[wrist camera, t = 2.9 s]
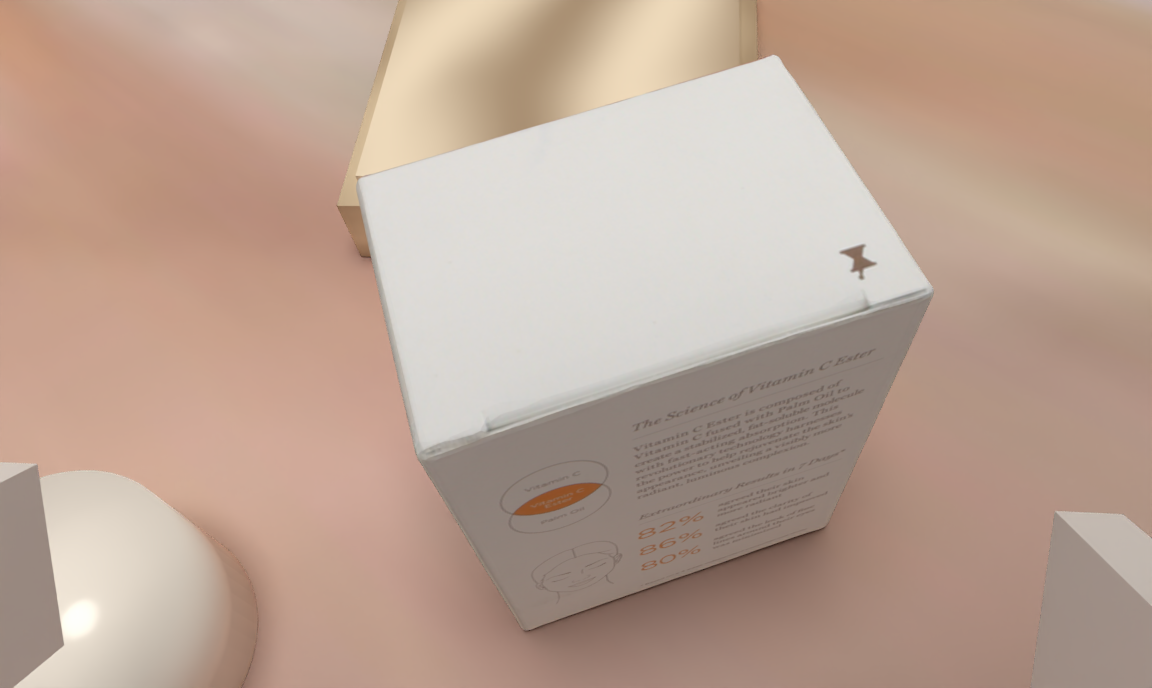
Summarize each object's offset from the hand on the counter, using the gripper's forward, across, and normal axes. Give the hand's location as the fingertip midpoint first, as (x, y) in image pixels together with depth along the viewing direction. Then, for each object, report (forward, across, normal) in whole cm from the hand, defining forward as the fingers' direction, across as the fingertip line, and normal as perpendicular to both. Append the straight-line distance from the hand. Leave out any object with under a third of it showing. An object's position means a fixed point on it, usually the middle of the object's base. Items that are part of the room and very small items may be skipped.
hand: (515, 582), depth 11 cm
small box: (+11, +1, -3) cm, 12 cm away
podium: (+20, -2, +6) cm, 21 cm away
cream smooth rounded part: (+8, -11, -7) cm, 15 cm away
